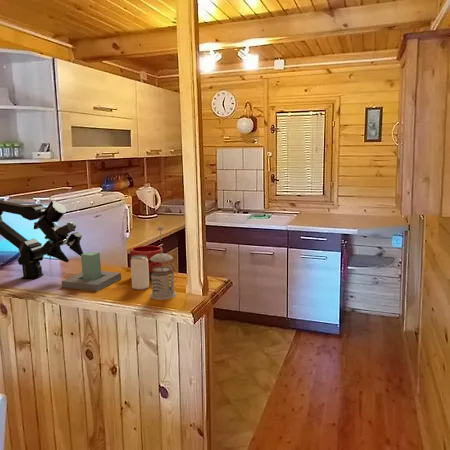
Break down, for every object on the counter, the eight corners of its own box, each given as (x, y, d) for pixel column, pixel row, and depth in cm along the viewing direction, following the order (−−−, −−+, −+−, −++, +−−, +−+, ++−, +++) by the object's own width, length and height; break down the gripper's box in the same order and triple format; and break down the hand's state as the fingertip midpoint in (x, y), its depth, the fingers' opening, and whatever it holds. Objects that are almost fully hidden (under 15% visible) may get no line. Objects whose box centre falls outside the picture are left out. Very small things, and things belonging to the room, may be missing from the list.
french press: (164, 288, 166) (161, 223, 161) (186, 295, 158) (183, 226, 154) (143, 296, 158) (140, 227, 154) (166, 303, 151) (163, 231, 146)
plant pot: (160, 281, 175) (159, 251, 173) (127, 281, 176) (126, 251, 174) (166, 271, 188) (165, 244, 186) (136, 271, 189) (134, 244, 187)
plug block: (83, 284, 173) (80, 254, 171) (91, 280, 177) (88, 251, 175) (94, 285, 171) (91, 255, 169) (101, 281, 176) (99, 252, 174)
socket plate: (62, 287, 169) (61, 281, 169) (87, 275, 184) (87, 269, 184) (97, 291, 164) (97, 284, 164) (121, 278, 179) (120, 272, 179)
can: (147, 289, 165) (146, 258, 163) (130, 290, 165) (128, 259, 163) (150, 284, 171) (149, 254, 169) (133, 284, 171) (132, 254, 169)
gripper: (44, 220, 165) (71, 251, 163) (76, 212, 182) (101, 240, 181) (29, 239, 169) (55, 270, 167) (62, 230, 186) (86, 257, 185)
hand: (75, 258), depth 175 cm, fingers open, 9 cm apart
